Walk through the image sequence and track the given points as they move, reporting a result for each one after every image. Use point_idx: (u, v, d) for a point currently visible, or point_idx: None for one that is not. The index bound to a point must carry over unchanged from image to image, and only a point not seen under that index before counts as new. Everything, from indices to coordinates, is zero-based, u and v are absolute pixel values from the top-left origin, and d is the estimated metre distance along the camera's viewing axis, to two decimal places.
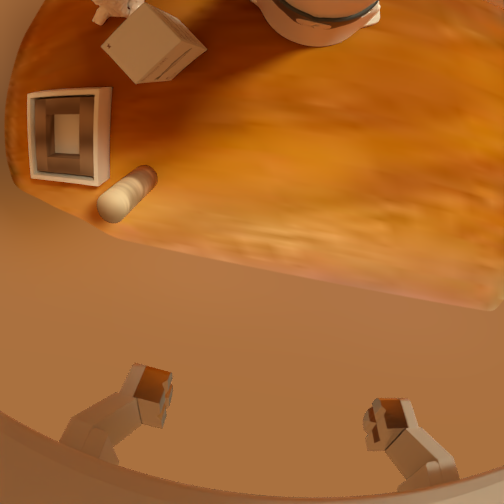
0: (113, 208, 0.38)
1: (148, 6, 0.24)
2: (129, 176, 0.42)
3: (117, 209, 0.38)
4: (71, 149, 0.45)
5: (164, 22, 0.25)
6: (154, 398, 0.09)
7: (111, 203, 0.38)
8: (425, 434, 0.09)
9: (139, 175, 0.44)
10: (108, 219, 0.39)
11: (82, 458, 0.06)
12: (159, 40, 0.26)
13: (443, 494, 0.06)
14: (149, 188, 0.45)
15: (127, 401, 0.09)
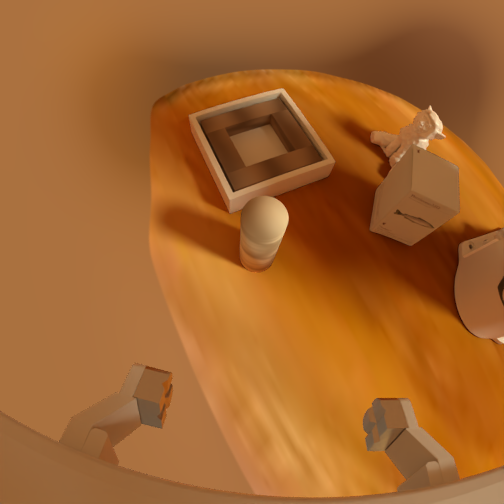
0: (268, 221, 0.29)
1: (458, 171, 0.32)
2: None
3: (270, 226, 0.29)
4: (240, 155, 0.44)
5: (458, 190, 0.31)
6: (154, 398, 0.09)
7: (272, 215, 0.29)
8: (425, 434, 0.09)
9: None
10: (245, 219, 0.29)
11: (82, 458, 0.06)
12: (449, 194, 0.31)
13: (443, 494, 0.06)
14: (264, 264, 0.37)
15: (127, 401, 0.09)
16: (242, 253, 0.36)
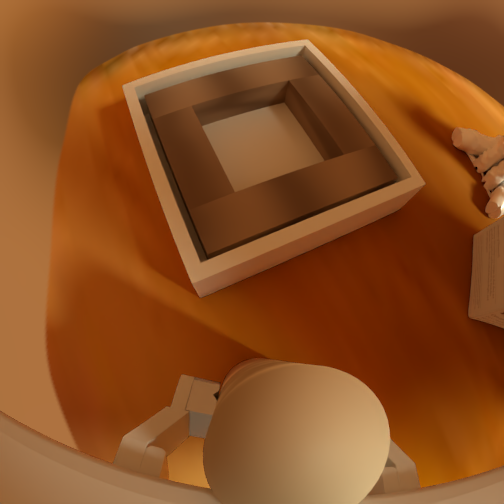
0: (315, 471, 0.06)
1: None
2: None
3: (321, 489, 0.06)
4: (224, 164, 0.21)
5: None
6: (208, 410, 0.09)
7: (333, 448, 0.06)
8: None
9: None
10: (223, 471, 0.06)
11: (82, 458, 0.06)
12: None
13: (443, 494, 0.06)
14: None
15: (180, 415, 0.09)
16: None
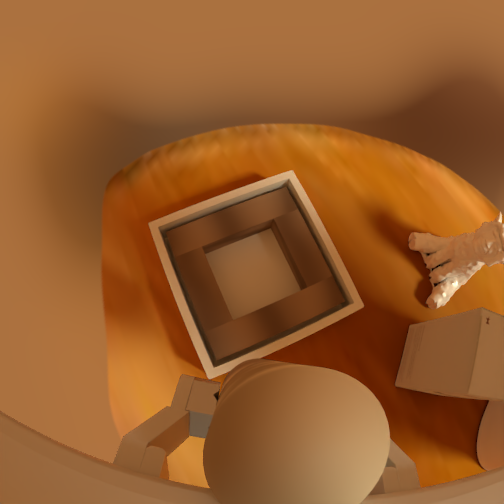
0: (315, 472, 0.06)
1: None
2: None
3: (321, 490, 0.06)
4: (226, 287, 0.31)
5: None
6: (208, 410, 0.09)
7: (333, 449, 0.06)
8: None
9: None
10: (223, 472, 0.06)
11: (82, 458, 0.06)
12: None
13: (443, 494, 0.06)
14: None
15: (181, 415, 0.09)
16: None
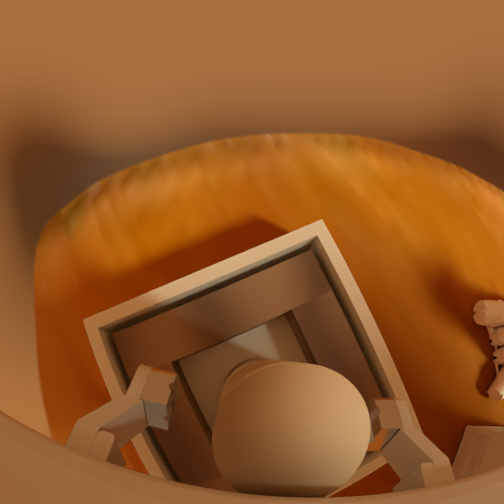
0: (306, 453, 0.07)
1: None
2: None
3: (312, 469, 0.07)
4: (215, 412, 0.18)
5: None
6: (161, 400, 0.09)
7: (321, 433, 0.07)
8: (420, 434, 0.09)
9: None
10: (228, 453, 0.07)
11: (82, 458, 0.06)
12: None
13: (443, 494, 0.06)
14: None
15: (134, 403, 0.09)
16: None
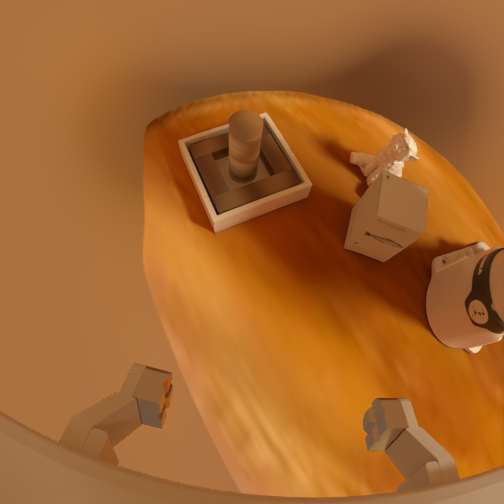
0: (248, 124, 0.38)
1: (427, 194, 0.37)
2: None
3: (250, 128, 0.38)
4: (225, 178, 0.49)
5: None
6: (154, 398, 0.09)
7: (251, 121, 0.38)
8: (425, 434, 0.09)
9: None
10: (232, 123, 0.38)
11: (82, 458, 0.06)
12: (415, 217, 0.36)
13: (443, 494, 0.06)
14: (248, 171, 0.46)
15: (127, 401, 0.09)
16: (230, 162, 0.45)
